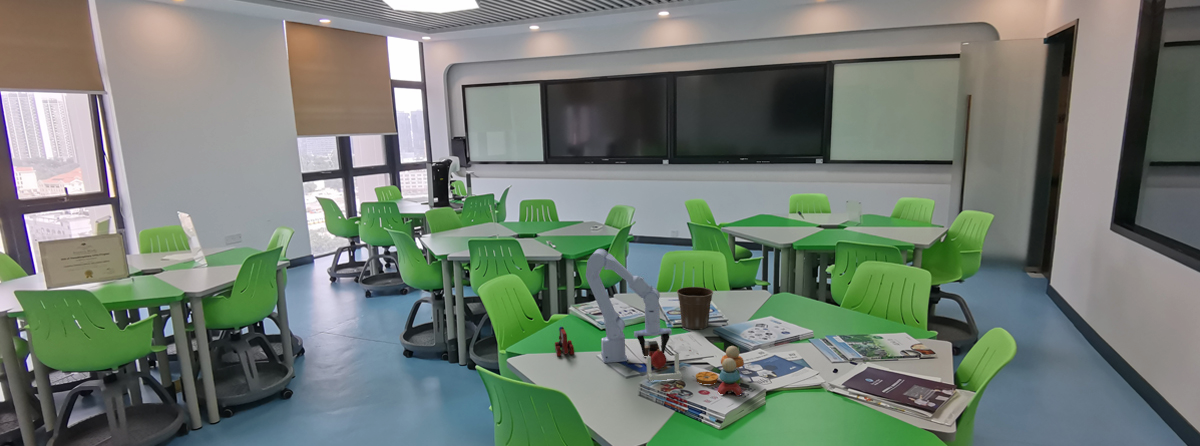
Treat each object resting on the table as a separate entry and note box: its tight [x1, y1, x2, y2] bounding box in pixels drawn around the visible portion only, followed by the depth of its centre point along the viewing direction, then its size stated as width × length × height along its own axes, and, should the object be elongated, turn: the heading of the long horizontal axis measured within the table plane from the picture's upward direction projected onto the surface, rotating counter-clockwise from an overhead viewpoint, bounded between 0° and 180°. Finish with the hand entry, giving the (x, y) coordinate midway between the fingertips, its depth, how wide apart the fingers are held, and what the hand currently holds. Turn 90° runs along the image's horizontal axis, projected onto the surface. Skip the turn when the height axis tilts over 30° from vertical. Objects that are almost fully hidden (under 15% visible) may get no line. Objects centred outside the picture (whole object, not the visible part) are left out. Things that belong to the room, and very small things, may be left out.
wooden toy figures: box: [695, 345, 745, 396], centre depth 205 cm, size 18×17×12 cm
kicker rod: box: [645, 340, 662, 366], centre depth 235 cm, size 5×19×7 cm, turn 7°
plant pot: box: [676, 286, 714, 330], centre depth 268 cm, size 16×16×16 cm
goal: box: [645, 353, 682, 382], centre depth 213 cm, size 12×5×8 cm, turn 97°
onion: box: [651, 348, 668, 370], centre depth 221 cm, size 6×6×8 cm
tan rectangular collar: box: [643, 344, 660, 357], centre depth 235 cm, size 6×2×4 cm, turn 97°
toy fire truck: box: [554, 326, 575, 357], centre depth 241 cm, size 7×12×10 cm, turn 11°
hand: (653, 353), depth 231 cm, fingers open, 7 cm apart
